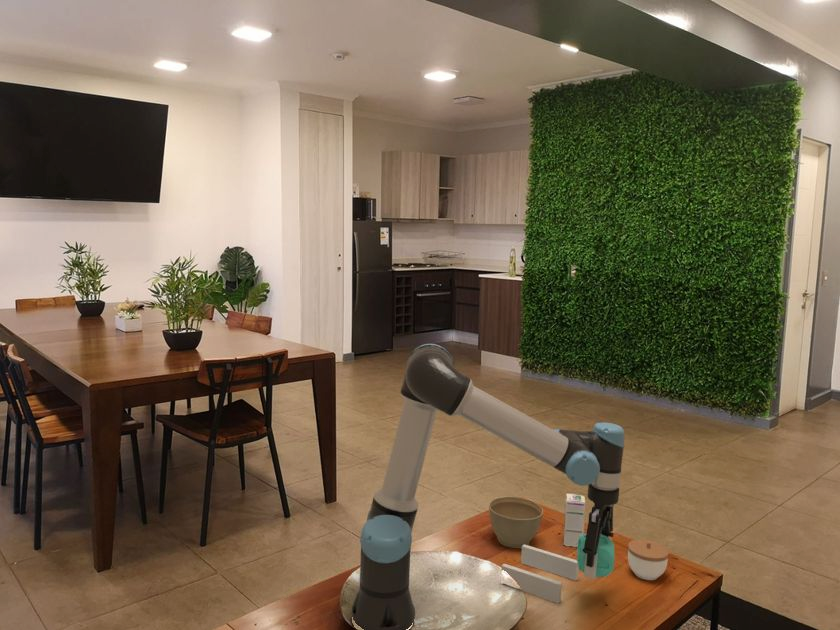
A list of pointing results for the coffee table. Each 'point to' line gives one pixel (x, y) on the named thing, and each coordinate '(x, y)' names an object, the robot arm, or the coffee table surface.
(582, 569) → the decorative dice
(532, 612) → the coffee table surface
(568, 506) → the syrup box
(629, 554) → the lidded jar
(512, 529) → the planter bowl
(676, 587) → the coffee table surface
